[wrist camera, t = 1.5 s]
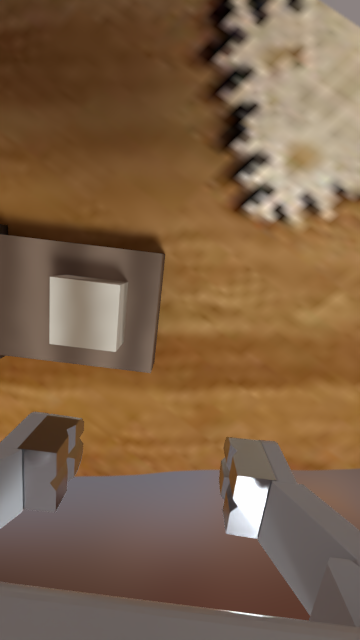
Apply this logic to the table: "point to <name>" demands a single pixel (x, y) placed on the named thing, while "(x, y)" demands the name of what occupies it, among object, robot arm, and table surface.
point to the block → (87, 312)
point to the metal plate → (86, 261)
